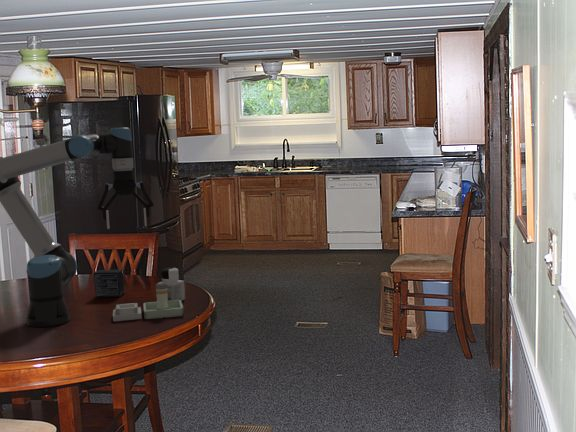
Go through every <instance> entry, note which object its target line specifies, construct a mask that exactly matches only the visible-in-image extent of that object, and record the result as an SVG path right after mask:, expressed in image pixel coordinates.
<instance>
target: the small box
mask: <svg viewBox="0 0 576 432" xmlns="http://www.w3.org/2000/svg"><path fill="white" fill-rule="evenodd" d="M93 277H94V278H93V279H94V292H95V298H98V299H99V298H101V299H102V298H121V297H122V296H123V295H125V284H124V283H125V282H124V271H123V269H102V270H101V269H100V270H97V271H95V272H93Z"/></svg>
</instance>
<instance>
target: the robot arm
mask: <svg viewBox="0 0 576 432" xmlns="http://www.w3.org/2000/svg"><path fill="white" fill-rule="evenodd" d="M98 155H111V162H112V163H111V164H112V169H113V171H112V177H113V178H112V179H113V180H112V181H113V182H112V183H113V184H111V183H105V184H104V191H103V194H102V196H101V199H100V200H99V203H98V206H97V210H100V211H102V217H103V220H106V229H107V230H110V228H111V227H110V215H109V210H107V209H109V207H110V206H111V204H112V203H113V202H114V201H115V199H116V198H117V196H130V195H133V197H135V199H137V200H138V201H139V203H141V204H142V206H144V208H143V216H144V217H143V218H144V219H143V221H144V227H147V226H148V224H147V217H150V208H151V207H153V206H154V202H153V200H152V199H151V197H150V196H149V194H148V192H147V190H146V189H145V186H144V181H140V182H135V171H134V170H133V169H134V158H133V157H134V156H133V138H132V132H131V129H130V127H112V128H110V129H109V132H108V133H86V134H78V135H76V136H73V137H71V138H66V139H64V140H61V141H60V140H59V141H56V142H54V143H49V144H47V145H43V146H39V147H35V148H33V149H29V150H26V151H21V152H19V153H15V154H10V155H8V156H5V157H3V156H0V204H1V206H2V207H3V209H4V210H5V211H6V213H7V215H8V216H9V218H10V220H11V221H12V223H13V225H14V226H15V227H16V229H17V230H18V231H19V234H20V235H21V236H22V238H23V239H24V242H25V243H26V245H27V246H28V247H29V248H30V250H31V251H32V253H33V256H34V257H32V258H30V259H29V260H28V261H27V263H26V275H27V284H28V285H27V286H28V288H27V289H28V295H29V296H28V297H29V304H28V309H27V312H26V317H25V323H26V325H27V326H28V327H32V328H48V327H54V326H58V325H59V326H60V325H63V324H65V323H68V322H69V321H70V320H71V314H70V311H69V309H68V306H67V305H66V302H65V298H64V290H63V285H66V284H68V283H69V282H70V281H72V280H73V278H74V277H75V276H76V274H77V272H78V263H77V259H76V258H75V257H74V255H73V254H72V253H70V252H68V251H66V250H65V249H64V247H63V246H62V244H61V243H56V242H55V241H54V239H53V238H52V236H51V234H50V232H49V231H48V230H47V228H46V227H45V225H44V224H43V222H42V220H41V219H40V218H39V216H38V215H37V213H36V211H35V210H34V207H32V205H31V204H30V202H29V200H28V199H27V197H26V196H25V194H24V192H23V191H22V190H21V185H22V182H21V180H20V179H19V177H20V176H23V175H27V174H29V173H33V172H37V171H40V170H43V169H47V168H50V167H54V166H57V165H61V164H64V163H67V162H71V161H74V160H78V159H83V158H85V157H90V156H98ZM136 187H137V188H138V189H140V190H141V192H142V194H143V195H144V197H145V199H146V200H147V202H148V203H147V202H146V201H145V200H144V199H143V198H142V197H141V196H140V195H139V194H138V193H137V192H136V191H135V188H136ZM112 188H113V190H114V192H113V194H112V195H111V197H110V198H109V199H108V201H107V202H106V203H105V204H104V202H105V200H106V197H107V196H108V192H109V191H110V190H111V189H112ZM103 205H104V206H103Z"/></svg>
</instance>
